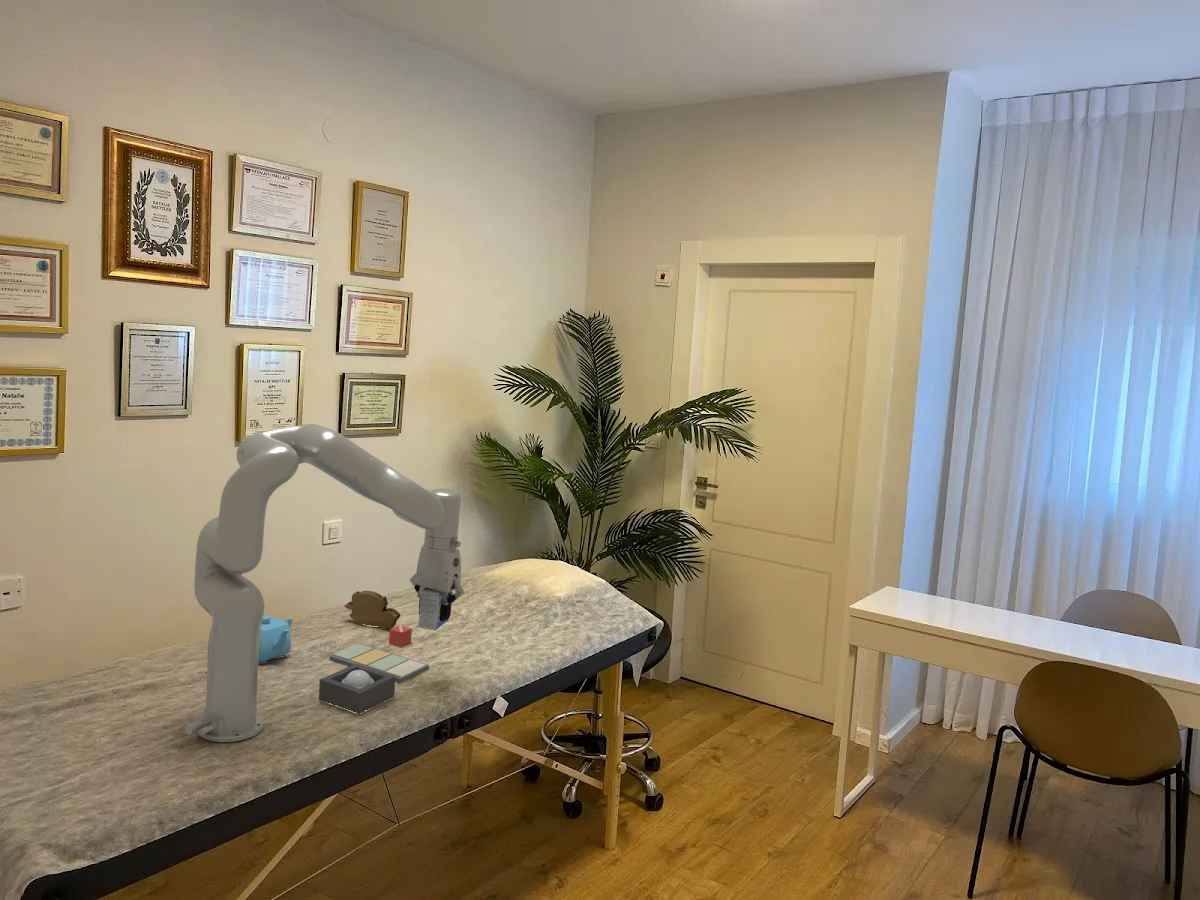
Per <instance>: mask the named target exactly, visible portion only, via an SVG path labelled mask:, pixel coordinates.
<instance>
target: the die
mask: <svg viewBox="0 0 1200 900" xmlns="http://www.w3.org/2000/svg"><path fill="white" fill-rule="evenodd" d="M412 632H413V628H411V627H408V626H404V625H396V626H394V627H393V628H392V629H389V638H388V639H389V641H388V644H389V645H392V646H395V647H398V648H403V647H406V646H407V645H410V644H412Z"/></svg>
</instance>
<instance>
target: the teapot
mask: <svg viewBox="0 0 1200 900" xmlns="http://www.w3.org/2000/svg"><path fill="white" fill-rule="evenodd" d="M293 620H294V619H292V618H285V620H281V618H280V619H279V618H277V617H274V616H271V615H263V619H262V623H261V629H260V637H259V658H258V664H259V663H260V664H259V665H264V664H266V663H267V662H266V661H267V660H268V661H269V660H273V659H277V658H276V657H281V656H285V655H287V654H289V653H290V652H291V646H292V645H291V642H292V640H291V638H292V637H291V625H292V624H293ZM265 662H266V663H265ZM262 663H263V664H262Z"/></svg>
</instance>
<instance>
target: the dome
mask: <svg viewBox="0 0 1200 900" xmlns="http://www.w3.org/2000/svg"><path fill="white" fill-rule="evenodd" d="M373 682H374V680H373V679H372V678H371V677H370V676H369V674H368V673H367V672H365V671H363V670H354V671H352V672H350V673H349V674H348V675H347V676H346V678H344V679H343V680H342V683H344V684H347V685H350V686H353V687H356V688H358V689H361V688H363V687H365V686H367V685H369V684H371V683H373Z"/></svg>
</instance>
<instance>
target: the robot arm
mask: <svg viewBox="0 0 1200 900" xmlns="http://www.w3.org/2000/svg"><path fill="white" fill-rule="evenodd" d="M237 447H238V448H237V450H236V460H237V463H238V465H239V467H238V468H237V469H236V470H235V471H234V472H233V473H232V475H231V476H230V477H229V478H228V480H227V482H226V483H225V485H224V488H223V490H222V493H221V497H220V503H219V512H218V516H216V517H214V518H212V519H210V520H209V521H208V522H206V523H205V525H204V526H203V527H202V529H201V531H200V532H199V535H198V539H197V542H196V543H197V544H196V553H195V554H196V555H195V564H194V565H195V567H194V581H193V582H194V584H193V585H194V586H193V587H194V588H193V589H194V595H195V599H196V601H197V603H198V604H199V605H200V606H201V608H203V610H204V611H206V612H207V613H208V614H209V616H211V618H212V619H211V620H212V624H211V628H210V632H209V637H208V643H207V665H206V666H207V671H206V701H205V702H206V703H205V704H206V706H205V710H204V711H201V716H200V718H198V720H197V721H196V722H195V721H194V722H192V723H189V724H187V725H185V727H184V732H185V733H186V734H187V735H188V736H190V735H194V734H196V733H197V734H198V735H199V736H200V737H201V738H202V739H204V740H207V741H210V742H216V743H233V742H240V741H243V740H244V741H245V740H248V739H250V738H253V737H255V736H256V735H258V734H260V732H262V730H263V729H264V727H265V719H264V717H263V716H262V715H261V714H259V713H257V708H258V684H259V683H258V681H259V680H258V679H259V677H258V676H259V663H258V658H259V637H260V629H261V623H262V619H263V616H264V613H265V599H264V596H263V594H262V592H261V591H260V589H259V588H258V587H257V585H256V584H254V582H252V581H250V580H249V579H248V578H246V577H245V576H243V574H247V573H249V572H251V571H253V570H255V569H256V567H257V566H258V565H259V563H260V562H261V560H262V556H263V550H264V535H265V534H264V533H265V523H266V521H265V520H266V511H267V506H268V502H269V500H270V498H271V496H272V495H273V494H274V492H275V491H276V490H277V489H279V487H281V486H282V485H284V484H285V483H287V482H288V481H290V480H291V479H292V478H293V477H294V476H295V475H296V473H297V470H298V469H299V465H302V464H304V463H306V464H308V465H311V466H313V467H314V468H316V469H318V470H320V471H321V472H323V473H325V475H328V476H329V477H332V478H333V479H334V480H336V481H338V482H339V483H341V484H342V485H344V486H345V487H347V488H348V489H350V490H352V491H353V492H354V493H356V494H358V495H361V496H362V497H364V498H365V499H368V500H370V501H372V502H374V503H378V504H380V505H382V506H385V507H387V508H389V509H390V510H392V512H393V513H394V514H395V516H396V517H398V518H399V519H401V520H403V521H405V522H406V523H408V524H409V523H410V524H412V525H414V526H416V527H418V528H420V529H423V530H425V531H424V541H423V544H422V546H421V548H420V551H419V555H418V559H417V566H416V572H415V573H414V574H413V575H412V576H411V577H410V578H409V582H410V584H411V585H412V586H413V587H414V589H415V591H416V593H417V598H418V599H419V602H418V615H419V614H420V601H421V593H422V592H424V591H425V590H427V589H431V590H435V591H439V592H441V593H442V600H443V604H442V605H441V608H440V621H445V620H447V619H448V620H450V617H451V615H452V614H451V612H452V604H453V603H454V602H455V601H456V600H458V599H459V598H460V597H462V596H463V595H464V594H465V591H464V588H463V587H462V585H461V582H462V581H461V579H462V563H461V562H462V560H461V559H462V558H461V552H460V549H458V548H460V547H461V544H462V543H461V541H459V540H458V534H459V523H460V512H461V501H462V500H461V499H462V496H461V493H460V492H459V491H457V490H454V489H450V488H434V489H425V487H423V486H421V485H420V484H418V483H416V482H415V481H413V480H411V479H410V478H408V477H406V476H405V475H403V474H401V473H400V472H399V471H398V470H396V469H394V468H393V467H392V466H390V465H389V464H387V463H385V462H384V461H382V460H380V459H379V458H377V457H376V456H374V455H372V453H370V452H368V451H367V450H365V449H364V448H362V447H361V446H360V445H358V444H356V443H355V442H353V441H352V440H351V439H349V438H348V437H346V436H344V435H343V434H342V433H339V432H338V431H336V430H334V429H332V428H329V427H326V426H323V425H320V424H317V423H307V424H306V423H304V424H299V425H294V426H288V427H284V428H279V429H274V430H273V429H272V430H269V431H262V432H258V433H254V434H251V435H249V436H247V437H246V438H244V439H243V440H242V441H241V442H240V443H239V445H238V446H237ZM453 591H454V592H453ZM447 594H448V596H447Z"/></svg>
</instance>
